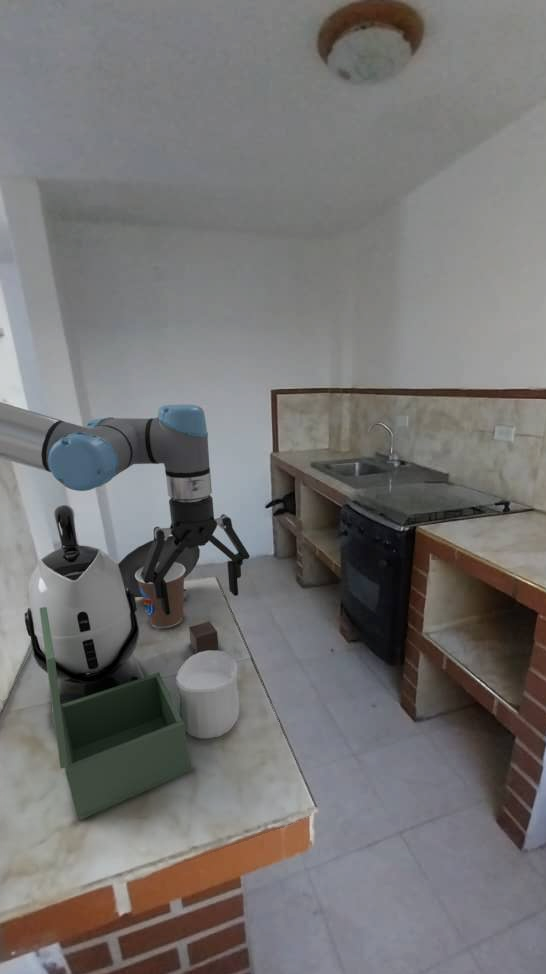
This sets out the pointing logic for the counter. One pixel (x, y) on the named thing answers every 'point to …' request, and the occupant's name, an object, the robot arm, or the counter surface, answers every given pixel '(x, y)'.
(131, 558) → the plate
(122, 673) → the kettle
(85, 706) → the chest
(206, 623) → the block
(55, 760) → the counter surface
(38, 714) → the counter surface
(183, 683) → the cup
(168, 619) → the coffee cup
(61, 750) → the lid
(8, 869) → the counter surface
